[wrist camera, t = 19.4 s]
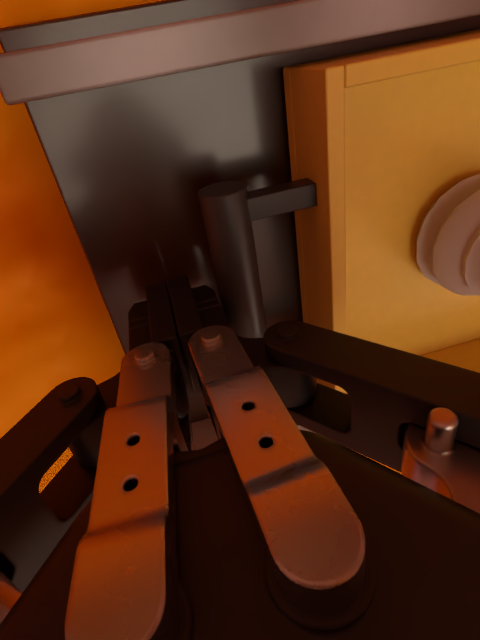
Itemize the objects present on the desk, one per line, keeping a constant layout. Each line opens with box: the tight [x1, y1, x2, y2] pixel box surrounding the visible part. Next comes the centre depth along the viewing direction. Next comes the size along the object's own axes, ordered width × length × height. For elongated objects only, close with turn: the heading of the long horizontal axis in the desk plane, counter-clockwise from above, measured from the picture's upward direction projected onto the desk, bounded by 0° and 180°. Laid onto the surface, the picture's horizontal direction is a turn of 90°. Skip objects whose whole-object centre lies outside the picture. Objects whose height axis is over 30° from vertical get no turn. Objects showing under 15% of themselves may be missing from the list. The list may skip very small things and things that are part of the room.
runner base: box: [0, 0, 480, 450], centre depth 16 cm, size 25×17×3 cm
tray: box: [198, 29, 480, 394], centre depth 15 cm, size 16×13×3 cm
